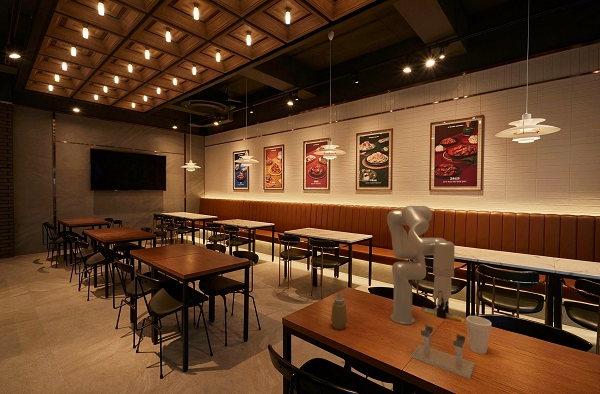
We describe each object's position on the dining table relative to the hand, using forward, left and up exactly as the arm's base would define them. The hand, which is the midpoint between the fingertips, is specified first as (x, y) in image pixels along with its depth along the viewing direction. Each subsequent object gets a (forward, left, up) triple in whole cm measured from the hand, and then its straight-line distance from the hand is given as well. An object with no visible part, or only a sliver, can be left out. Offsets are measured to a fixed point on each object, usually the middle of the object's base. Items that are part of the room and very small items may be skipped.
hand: (442, 315), depth 113 cm
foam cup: (-20, +10, -19) cm, 29 cm away
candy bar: (0, 0, -1) cm, 1 cm away
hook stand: (0, 0, -19) cm, 19 cm away
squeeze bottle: (+2, -48, -19) cm, 52 cm away
